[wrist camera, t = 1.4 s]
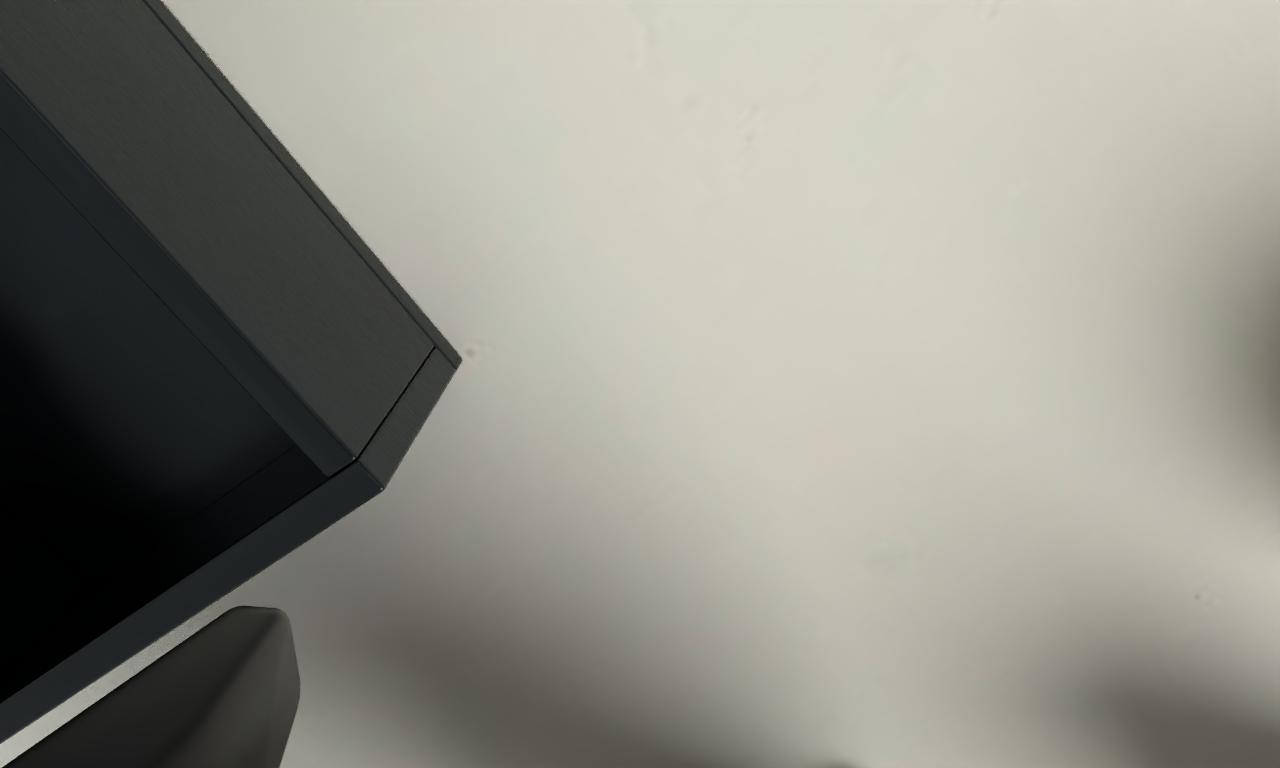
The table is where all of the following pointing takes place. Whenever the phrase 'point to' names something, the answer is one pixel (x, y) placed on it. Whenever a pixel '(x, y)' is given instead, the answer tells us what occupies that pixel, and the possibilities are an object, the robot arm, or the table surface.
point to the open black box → (170, 346)
